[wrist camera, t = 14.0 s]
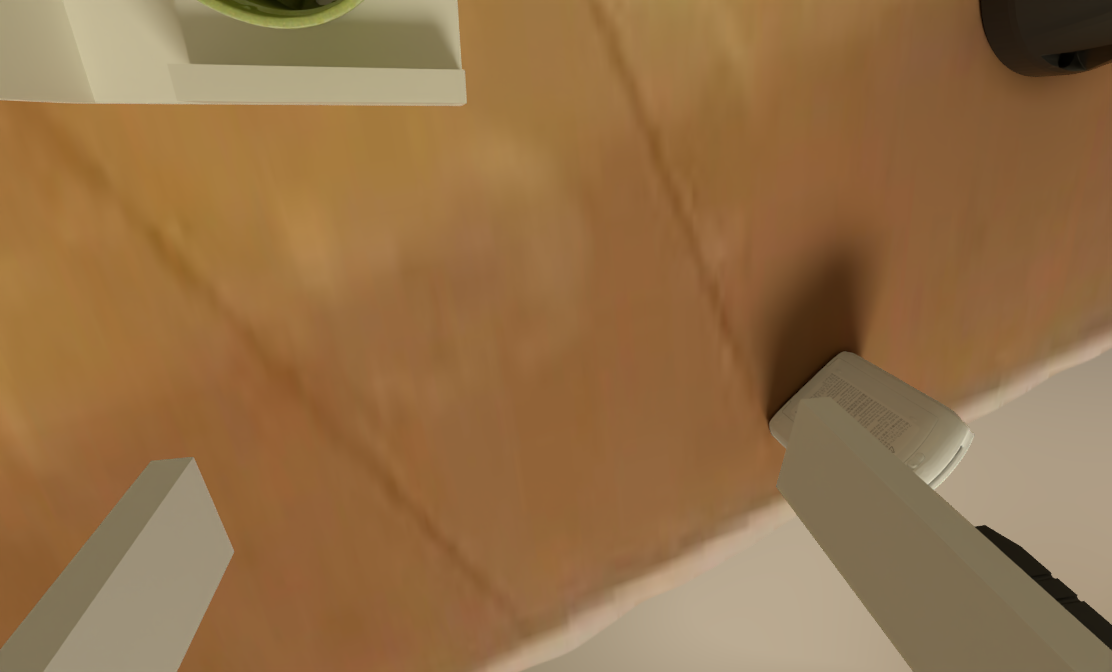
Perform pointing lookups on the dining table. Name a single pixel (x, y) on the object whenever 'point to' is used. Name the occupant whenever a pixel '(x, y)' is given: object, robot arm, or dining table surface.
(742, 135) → the dining table surface
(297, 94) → the bracket shelf
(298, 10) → the plant pot
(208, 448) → the dining table surface
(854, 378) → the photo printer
